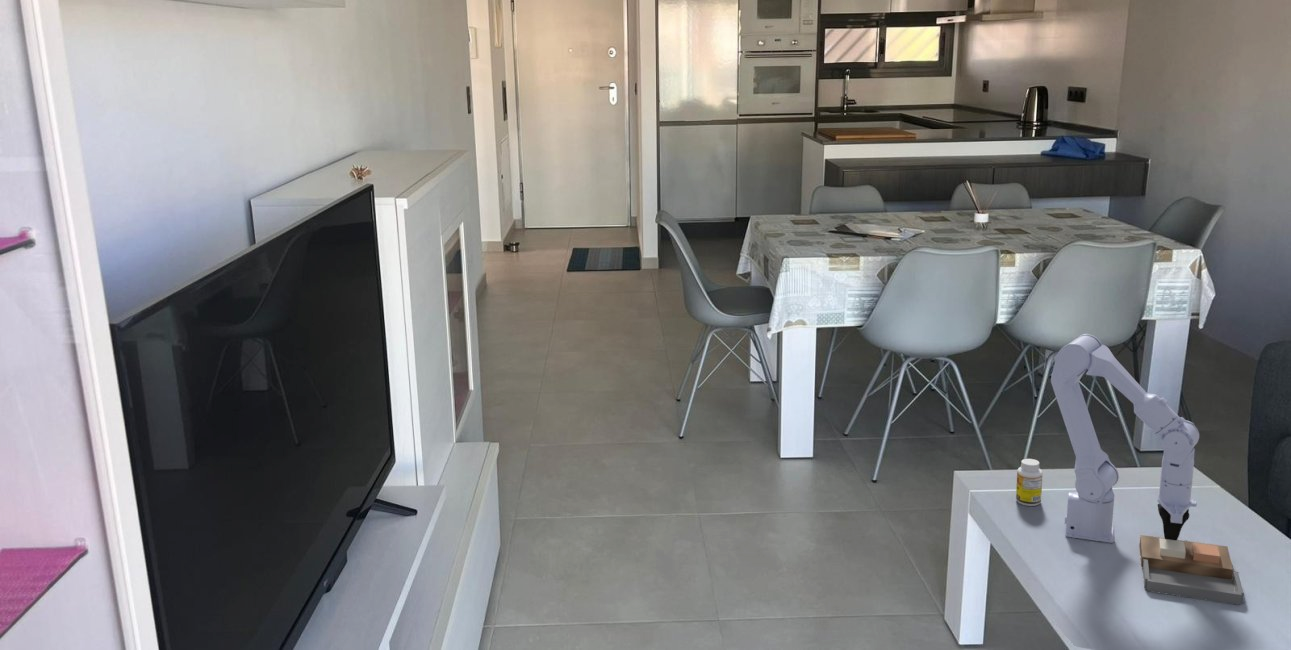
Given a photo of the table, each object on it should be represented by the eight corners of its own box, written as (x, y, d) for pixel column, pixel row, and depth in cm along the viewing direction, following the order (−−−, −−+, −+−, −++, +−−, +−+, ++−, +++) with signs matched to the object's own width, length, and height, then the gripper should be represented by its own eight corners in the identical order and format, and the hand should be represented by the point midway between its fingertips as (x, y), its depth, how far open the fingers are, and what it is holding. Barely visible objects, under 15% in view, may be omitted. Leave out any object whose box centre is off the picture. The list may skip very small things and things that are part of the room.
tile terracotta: (1193, 560, 195) (1194, 552, 194) (1191, 549, 199) (1192, 542, 198) (1219, 563, 193) (1220, 556, 192) (1216, 553, 197) (1217, 546, 196)
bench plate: (1141, 567, 198) (1142, 556, 197) (1139, 545, 206) (1140, 534, 206) (1232, 580, 191) (1233, 569, 190) (1226, 557, 200) (1227, 546, 199)
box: (1144, 590, 189) (1145, 580, 189) (1142, 568, 197) (1143, 558, 197) (1242, 605, 183) (1244, 595, 182) (1236, 582, 190) (1238, 572, 190)
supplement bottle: (1018, 495, 233) (1020, 455, 230) (1042, 499, 230) (1045, 459, 227) (1013, 504, 228) (1015, 464, 225) (1038, 508, 225) (1040, 468, 222)
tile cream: (1159, 555, 197) (1160, 548, 197) (1158, 545, 201) (1159, 538, 201) (1184, 558, 195) (1185, 551, 195) (1183, 548, 199) (1183, 541, 199)
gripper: (1202, 496, 190) (1195, 559, 194) (1195, 468, 203) (1189, 527, 207) (1161, 492, 193) (1156, 553, 197) (1157, 464, 206) (1152, 522, 210)
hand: (1170, 539), depth 202 cm, fingers closed
